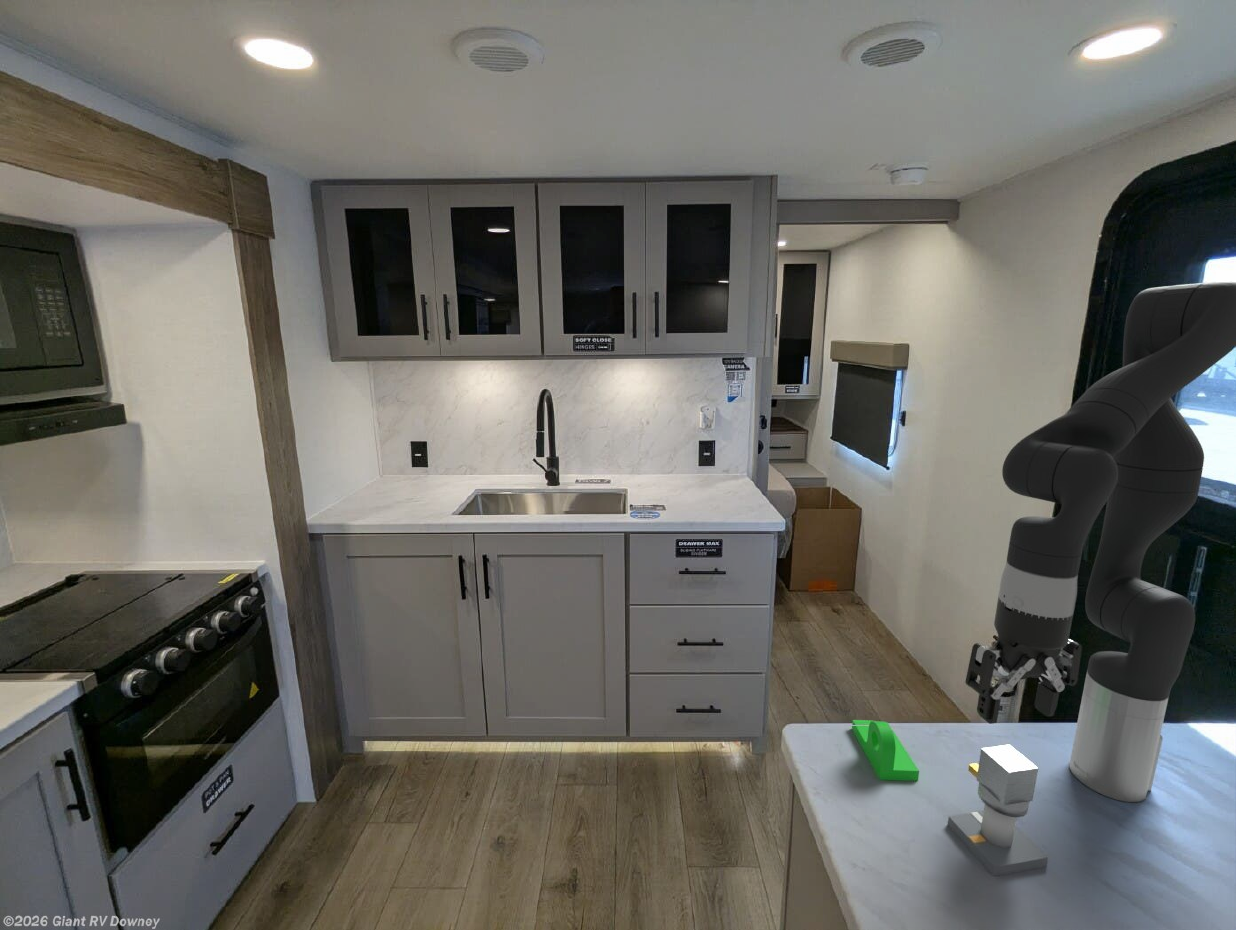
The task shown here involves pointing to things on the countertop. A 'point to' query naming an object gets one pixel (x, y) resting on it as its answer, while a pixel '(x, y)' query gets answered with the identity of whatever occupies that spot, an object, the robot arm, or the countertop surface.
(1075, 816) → the countertop surface
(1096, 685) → the robot arm
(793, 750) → the countertop surface
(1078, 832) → the countertop surface
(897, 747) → the mechanical part
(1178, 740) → the countertop surface
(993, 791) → the collar
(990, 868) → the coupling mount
